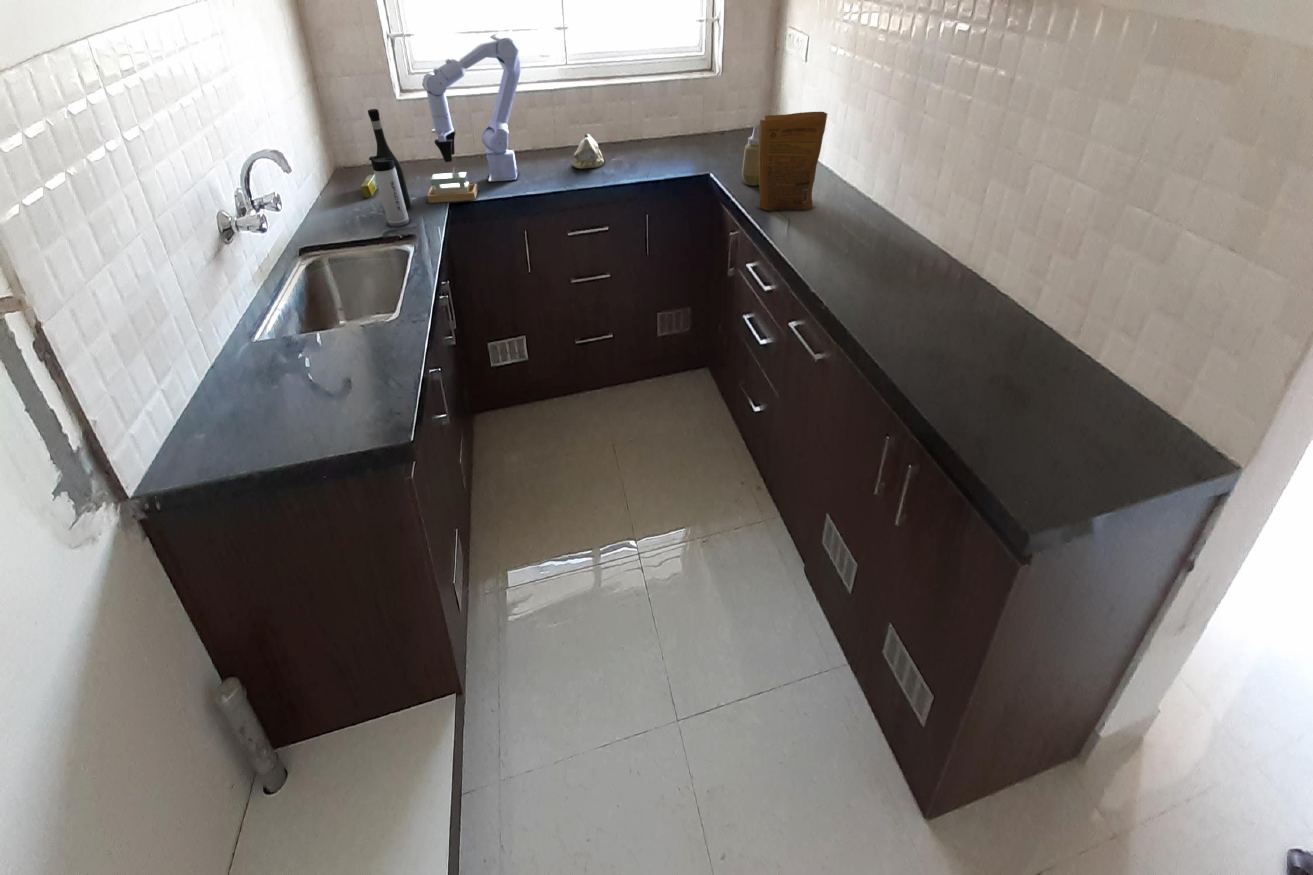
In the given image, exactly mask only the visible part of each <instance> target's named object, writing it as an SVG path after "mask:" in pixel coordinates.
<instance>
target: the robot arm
mask: <svg viewBox="0 0 1313 875" xmlns="http://www.w3.org/2000/svg"><path fill="white" fill-rule="evenodd" d="M519 51H520V50H519V48H518V46H517V44H516V43H515V41H514V40H513V39H512V38H510V37H505V36H504V35H502V34H499V33H494V34H492V35H490V37H487V38H485V39H484V40H482V41H481V42H480V43H479V44H477V45H476V46H475V47H474V48H472V49H471V50H469V51H468V52H467V53H466V54H464V55H463V56H462V57H460V58H459V59H455V58H451V59H450V58H447V59H446V60H445V63H444V64H442V65H441V66H439V67H436V68H433V70H432V71H433V72H427V73H426V74H425V75H424V76H423V78H422V83H421V85H422V87H423V89H424V90H425V91H426V95H427V100H428V105H429V111H430V114H431V119H432V124H433V127H434V128H432V129H431V130H430V132H431V133H432V134H435V135H436V137H437V139H434V144H435V146H436V147H437V148H438V150H439V152H440V153H441V156H442V159H443V160H444V162H445V163H452V162H453V155H455V152H456V150H455V149H456V147H455V140H456V139H455V138H456V133H457V131H456V129H454V127H453V123H452V118H451V113H450V109H449V104H448V99H447V96H446V92H447V88H449V87H450V86H452V85H453V84H455V83H456V82H458V81H459V80H460V79H462V78H464V76H465V73H466V70H468V69H469V68H471V67H473V66H475V65H476V64H477V63H479V62H481V61H483V60H485V59H486V58H490V59H496V60H497V61H498V63H499V65H500V66H501V68H502V71H503V72H502V76H501V79H500V84H499V87H498V91H497V96H496V99H495V104H494V106H493V107H494V108H493V112H492V116H491V119H490V120H489V121H488V122H487V124H486V127H485V129H484V130H483V131H482V133H481V142H482V143H483V145H484V146H485V147H486V149H485V154H486V159H487V164H488V165H487V166H488V170H489V177H488V182H491V183H492V182H505V181H516V180H517V177H518V167H517V162H516V156H515V151H514V150H510V149H508V148H509V129H508V123H509V119H510V115H511V112H512V107H513V104H514V99H515V96H516V92H517V88H518V84H519V81H520V78H521V77H520V76H521V73H522V66H521V62H520V56H519V53H520V52H519Z"/></svg>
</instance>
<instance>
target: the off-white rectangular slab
mask: <svg viewBox="0 0 1313 875" xmlns="http://www.w3.org/2000/svg"><path fill="white" fill-rule="evenodd" d="M469 184H470V181H466V185H465V187H460V185H459V183H454V184H442V185H441V187H440V188H439V189H435V185H433V187H434V188H433V191H434V195H440V194H453V193H468V191H469V188H470V186H469Z"/></svg>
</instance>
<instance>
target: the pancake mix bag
mask: <svg viewBox="0 0 1313 875" xmlns="http://www.w3.org/2000/svg"><path fill="white" fill-rule="evenodd" d="M827 119H828V113H827V112H825V111H803V112H793V113H789V114H788V113H787V114H769V115H764V119H760V121H759V125H758V128H759V144H758V156H759V160H758V164H759V185H758V186H759V187H758V188H759V197H760V199H759V203H758V208H760V209H762V210H764V211H771V212H773V211H778V212H779V211H806V210H809V209H811V208H813V207H814V205H813V187H814V183H815V180H816V171H817V165H818V161H819V159H820V155H821V151H822V144H823V139H824V134H825V132H826V125H827Z"/></svg>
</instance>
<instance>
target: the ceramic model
mask: <svg viewBox="0 0 1313 875" xmlns="http://www.w3.org/2000/svg"><path fill="white" fill-rule="evenodd" d="M573 158H574V159H573V161H572V167H574V168H576V169H592V168H593V169H594V168H599V167H601V166H603V165H604V163H605V162H604V157H603V154H602V151H601V150H600V149H599V144H598V142H597V141H596V140H595V139H594V138H593V136H591V135H590V134H589V133H584V136H583V139H582V140H581V141H580V143H579V145H578V146H577V149H576V150H575V151H574V153H573Z"/></svg>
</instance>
